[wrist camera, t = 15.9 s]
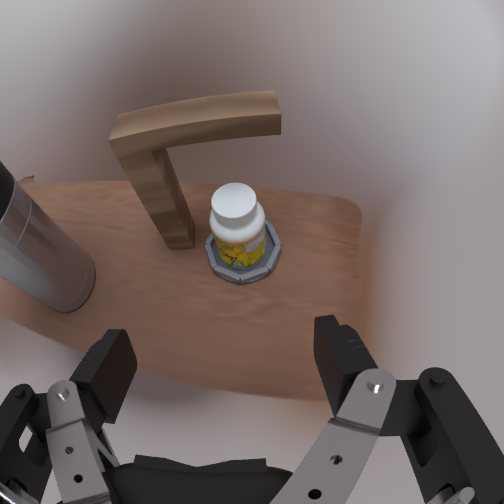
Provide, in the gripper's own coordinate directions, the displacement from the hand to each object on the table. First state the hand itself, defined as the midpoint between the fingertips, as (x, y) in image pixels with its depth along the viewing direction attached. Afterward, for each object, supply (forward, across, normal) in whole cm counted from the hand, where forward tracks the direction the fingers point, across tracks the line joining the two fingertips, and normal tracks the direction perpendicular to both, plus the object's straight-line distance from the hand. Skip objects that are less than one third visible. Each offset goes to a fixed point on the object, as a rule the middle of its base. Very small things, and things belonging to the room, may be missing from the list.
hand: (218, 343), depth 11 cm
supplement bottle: (+22, -1, +3) cm, 22 cm away
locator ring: (+22, -1, +3) cm, 23 cm away
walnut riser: (+24, +2, +1) cm, 25 cm away
